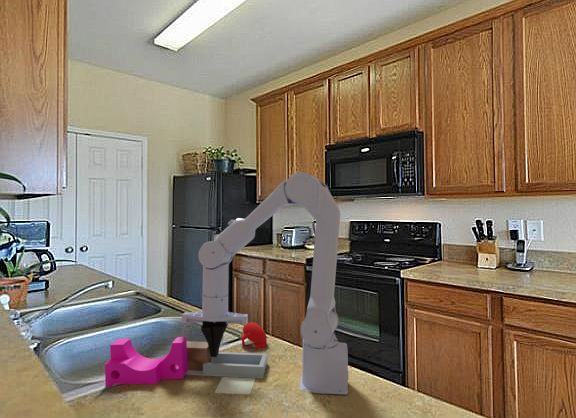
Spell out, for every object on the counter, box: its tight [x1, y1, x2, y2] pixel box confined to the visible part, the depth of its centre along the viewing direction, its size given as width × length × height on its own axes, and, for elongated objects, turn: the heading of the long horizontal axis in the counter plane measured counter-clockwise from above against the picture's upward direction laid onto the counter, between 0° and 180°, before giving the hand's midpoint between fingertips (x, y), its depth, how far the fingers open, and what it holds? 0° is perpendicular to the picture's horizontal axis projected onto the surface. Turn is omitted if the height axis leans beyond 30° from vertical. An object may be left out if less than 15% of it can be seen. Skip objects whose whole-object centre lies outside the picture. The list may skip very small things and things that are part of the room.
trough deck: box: [185, 351, 268, 379], centre depth 86 cm, size 19×8×3 cm, turn 86°
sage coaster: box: [214, 376, 256, 395], centre depth 78 cm, size 7×7×1 cm
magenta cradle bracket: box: [104, 336, 188, 387], centre depth 81 cm, size 15×6×8 cm, turn 89°
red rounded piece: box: [240, 322, 268, 350], centre depth 102 cm, size 8×6×6 cm
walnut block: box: [187, 340, 211, 371], centre depth 87 cm, size 6×4×5 cm, turn 86°
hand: (214, 355), depth 86 cm, fingers closed
